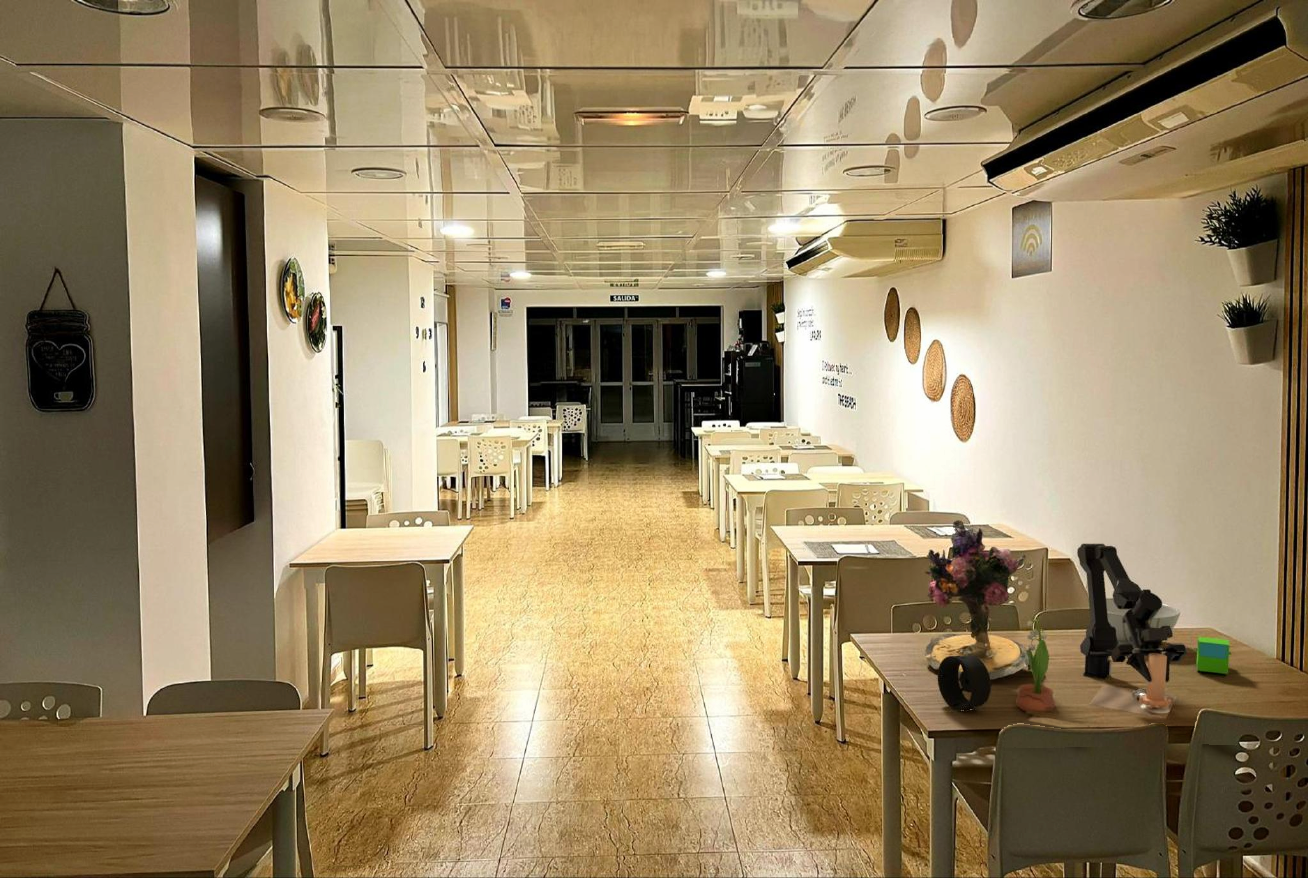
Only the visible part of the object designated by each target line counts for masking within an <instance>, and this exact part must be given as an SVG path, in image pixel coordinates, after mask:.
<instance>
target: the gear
mask: <svg viewBox="0 0 1308 878" xmlns="http://www.w3.org/2000/svg"><path fill="white" fill-rule="evenodd" d="M1136 690H1137V691H1133V692H1132V696H1135V699H1136V700H1139V699H1140V697H1142V695H1143V694H1145V695H1146V694H1147V689H1144V688H1143V689H1142V688H1137V689H1136ZM1165 697H1166V698H1167V699H1168V696H1165Z"/></svg>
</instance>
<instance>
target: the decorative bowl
mask: <svg viewBox="0 0 1308 878" xmlns="http://www.w3.org/2000/svg"><path fill="white" fill-rule="evenodd" d="M1106 603H1107V614H1108V622H1109V623H1110V624H1111V626H1112V627H1115V629H1116V637H1117V640H1118V644H1132V645H1133V647H1135V646H1134V643H1133V641H1130V640H1129V637H1130V636H1131V635H1130V632H1129V629H1128V626H1127V623H1123V622H1122V620H1123V618H1124V615H1125V613H1126V612H1127V611H1128V610H1131V609H1118V608H1117V606H1116V605H1115V603H1114V599H1113V597H1106ZM1180 616H1181V612H1180V610H1179V609H1177V608H1176V607H1175V606H1172V605H1169V604H1166V603H1162V607H1161V608H1160V610H1159V611H1158V612H1157V614H1156V615H1155V616H1154V617H1153V619H1151V620H1149V622H1150V625H1151V628H1161V627H1162V626H1170V627H1171V629H1172V630H1174V628H1175V626H1176V625H1177V623H1178V621H1179V618H1180Z"/></svg>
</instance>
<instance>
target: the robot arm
mask: <svg viewBox="0 0 1308 878" xmlns="http://www.w3.org/2000/svg"><path fill="white" fill-rule="evenodd" d="M1076 554H1077V557H1078V561H1079V565H1080V567H1081V568H1082V569H1083V572H1085V574H1086V581H1087V594H1088V604H1089V615H1090V618H1089V619H1090V623H1089V624H1088V626H1087V629H1086V631H1085V637H1084V639H1083V640H1082V642H1081V643H1080V645H1079V648H1080V649H1079V650H1080V653H1081V654H1083V655H1084V657H1085V659H1084V660H1085V661H1084V672H1083V674H1082V675H1083V676H1085V677H1092V678H1098V679H1103V680H1106V679H1107V678H1108V677H1109V676H1110V675H1111V674H1112V662H1113V663H1124V662H1125V661H1126V659H1127V661H1126V662H1125V663H1126V665H1128V666H1129V665H1130V666H1131V667H1132V668H1133V669H1134V670H1136V671H1137V673H1139V674H1140V675H1141V676H1142V677H1143V678H1144V679H1145V680H1146V682H1147V681H1148V682H1151V681H1152V680H1151V676H1150V673H1149V670H1148V664H1147V663H1146V659H1145V658H1146V657H1149V654H1150V653H1159V654H1164V655H1166V656H1167V663H1166V681H1165V683H1168V682H1170V665H1171V663H1177V662H1181V660H1182V659H1183V658H1184V657H1185V655H1186V654H1188V649H1187V646H1186V644H1184V643H1174V642H1173V643H1169V644H1168V645H1167V646H1166V647H1165V648H1164V647H1163V648H1161V646H1162V645H1163V642H1164V641H1168V639H1171V638H1173V634H1174V633H1173V629H1171V627H1170V626H1162V627H1161V628H1151V625H1150V622H1149V620H1151V619H1153V617H1154V616H1155V615H1156V614H1157V612H1158V611H1159V610H1160V608H1161V607H1162V604H1163V602H1162V598H1160V597H1159V596H1158V595H1157V594H1155V593H1153V592H1152V591H1151V589H1150V588H1149V589H1141V587H1140V586H1139V584H1137V583H1135V582H1134V581H1132V580H1131V579H1130V577H1129V575H1128V573H1127V570H1125V567H1124V565H1123V563H1122V561H1121V559H1120V557H1119V555H1118V550H1117V548H1116V546H1113V545H1105V544H1104V543H1081V545H1080V546H1079V547H1078V548H1077V553H1076ZM1105 573H1106V575H1107V577H1108V580H1109V581H1110V583H1111V586H1112V588H1113V593H1112V595H1111V596H1112V598H1113V599H1114V603H1115V605H1116V606H1117V608H1118V609H1131V610H1128V611H1127V612H1126V613H1125V615H1124V618H1123V620H1122V622H1123V623H1127V626H1128V629H1129V632H1130V635H1131V636H1130V637H1129V640H1130V641H1133V643H1134V646H1135V647H1133V645H1132V644H1118V640H1117V637H1116V629H1115V627H1112V626H1111V624H1110V623H1109V622H1108V614H1107V603H1106V598H1107V593H1106V581H1105ZM1159 647H1160V648H1159ZM1110 658H1111V660H1110Z"/></svg>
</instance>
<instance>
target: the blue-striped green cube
mask: <svg viewBox="0 0 1308 878" xmlns="http://www.w3.org/2000/svg"><path fill="white" fill-rule="evenodd" d="M1230 645H1231V644H1230V640H1229V639H1222V638H1212V637H1205V636H1204V637H1203V636H1197V648H1196V647H1195V648H1193V651H1194V652H1196V669H1197V670H1196V671H1197V672H1198V673H1202V672H1209V673H1217V674H1222V676H1227V675H1228V674H1229V664H1230V663H1229V662H1230V661H1229V660H1230V659H1229V658H1230V656H1231V655H1232V652H1230Z"/></svg>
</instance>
